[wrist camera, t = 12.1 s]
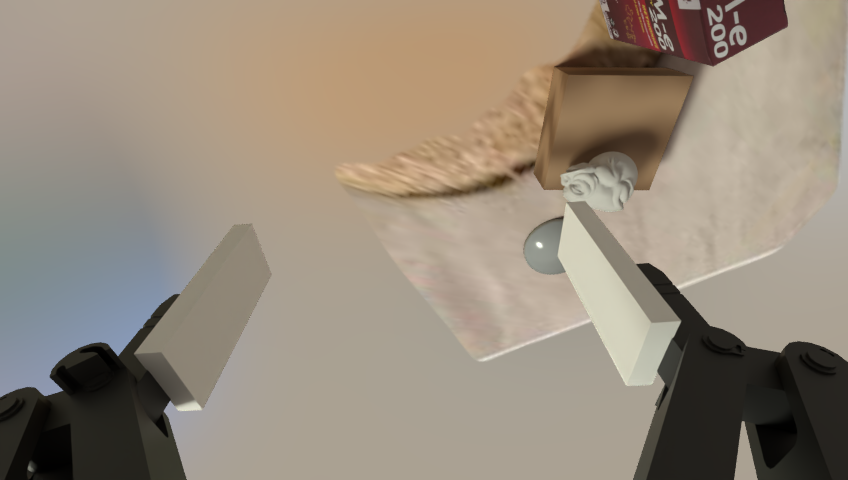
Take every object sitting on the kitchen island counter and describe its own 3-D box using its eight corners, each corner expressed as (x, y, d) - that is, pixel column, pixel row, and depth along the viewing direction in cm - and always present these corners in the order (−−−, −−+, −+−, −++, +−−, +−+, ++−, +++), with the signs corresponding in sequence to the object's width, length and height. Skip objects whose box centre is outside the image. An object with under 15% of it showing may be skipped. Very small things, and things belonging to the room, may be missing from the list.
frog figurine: (610, 125, 35) (558, 180, 35) (668, 174, 34) (615, 229, 35) (588, 141, 41) (544, 188, 41) (637, 183, 40) (592, 230, 41)
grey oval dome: (526, 220, 49) (527, 223, 48) (594, 215, 49) (597, 218, 48) (521, 272, 54) (522, 276, 53) (582, 268, 54) (584, 272, 53)
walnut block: (552, 65, 39) (568, 74, 35) (664, 67, 39) (693, 76, 35) (532, 171, 46) (543, 189, 42) (628, 171, 46) (649, 190, 42)
